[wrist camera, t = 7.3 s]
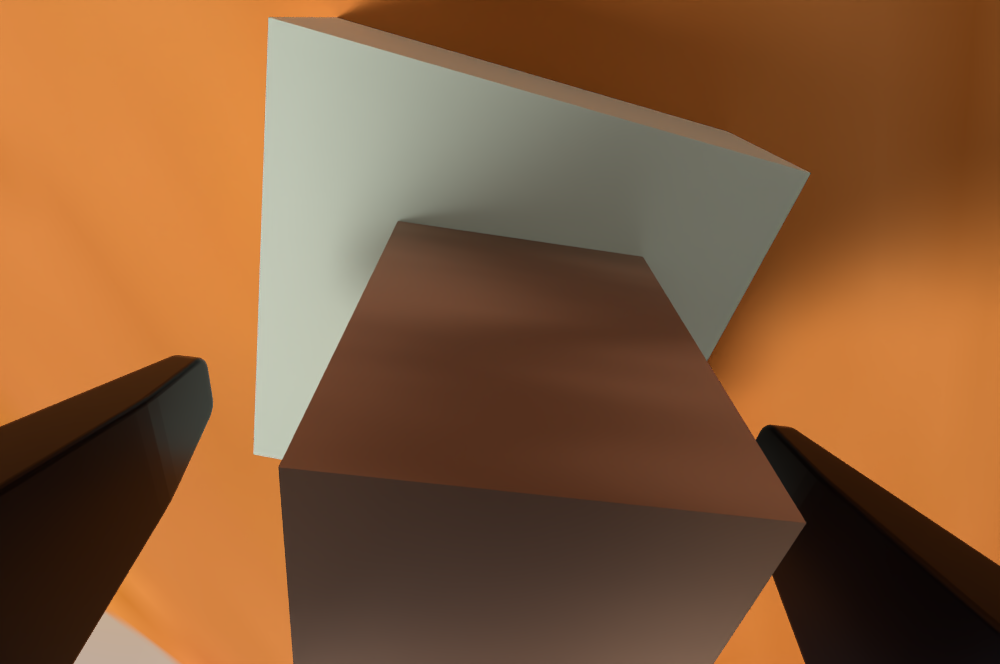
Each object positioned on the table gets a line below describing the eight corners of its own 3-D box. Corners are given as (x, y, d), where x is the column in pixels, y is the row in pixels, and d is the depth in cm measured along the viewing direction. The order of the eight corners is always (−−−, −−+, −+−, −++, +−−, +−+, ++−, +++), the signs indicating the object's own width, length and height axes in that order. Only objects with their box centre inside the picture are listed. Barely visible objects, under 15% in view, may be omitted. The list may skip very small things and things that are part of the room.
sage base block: (725, 130, 12) (810, 173, 9) (594, 418, 17) (618, 521, 13) (338, 17, 11) (268, 16, 8) (307, 359, 16) (253, 454, 12)
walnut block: (643, 256, 10) (806, 523, 5) (585, 439, 12) (652, 756, 7) (397, 220, 9) (277, 466, 4) (386, 416, 12) (298, 733, 7)
